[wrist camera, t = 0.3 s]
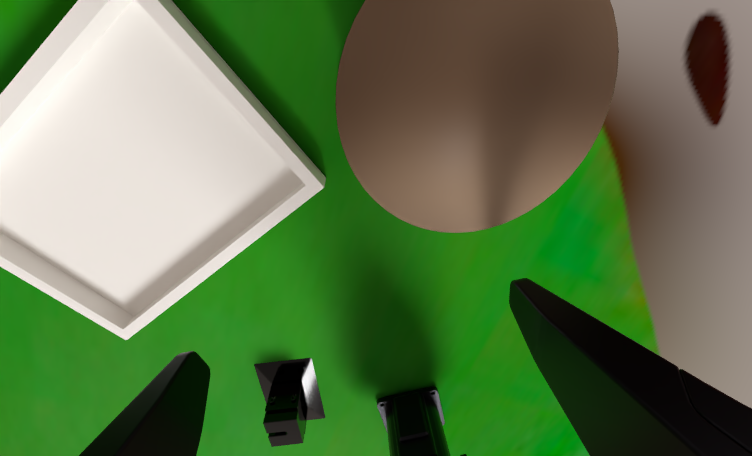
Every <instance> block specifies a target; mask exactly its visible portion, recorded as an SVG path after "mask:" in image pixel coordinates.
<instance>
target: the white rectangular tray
mask: <svg viewBox="0 0 752 456" xmlns="http://www.w3.org/2000/svg"><path fill="white" fill-rule="evenodd" d="M325 181H326V177H325V176H324V175H323V174H322V172H321V171H320V170H319V169H318V168H317V167H316V166H315V164H314V163H313V162H312V161H311V160H310V159H309V158H308V156H307V155H306V154H305V153H304V152H303V151H302V150H301V148H300V147H299V146H298V145H297V144H296V143H295V141H294V140H293V139H292V138H291V137H290V136H289V135H288V133H287V132H286V131H285V130H284V129H283V128H282V127H281V125H280V124H279V123H278V122H277V121H276V120H275V118H274V117H273V116H272V115H271V114H270V113H269V112H268V110H267V109H266V108H265V107H264V106H263V105H262V104H261V102H260V101H259V100H258V99H257V98H256V97H255V96H254V94H253V93H252V92H251V91H250V90H249V89H248V87H247V86H246V85H245V84H244V83H243V82H242V81H241V79H240V78H239V77H238V76H237V75H236V74H235V73H234V71H233V70H232V69H231V68H230V67H229V66H228V64H227V63H226V62H225V61H224V60H223V59H222V58H221V56H220V55H219V54H218V53H217V52H216V51H215V50H214V48H213V47H212V46H211V45H210V44H209V43H208V41H207V40H206V39H205V38H204V37H203V36H202V35H201V33H200V32H199V31H198V30H197V29H196V28H195V27H194V25H193V24H192V23H191V22H190V21H189V20H188V19H187V17H186V16H185V15H184V14H183V13H182V12H181V10H180V9H179V8H178V7H177V6H176V5H175V4H174V2H173V1H172V0H78V1H77V2H76V3H75V5H74V6H73V7H72V8H71V10H70V11H69V12H68V13H67V14H66V16H65V17H64V18H63V19H62V20H61V22H60V23H59V24H58V25H57V26H56V28H55V29H54V30H53V31H52V33H51V34H50V35H49V36H48V37H47V39H46V40H45V41H44V42H43V43H42V45H41V46H40V47H39V48H38V50H37V51H36V52H35V53H34V54H33V56H32V57H31V58H30V59H29V60H28V62H27V63H26V64H25V65H24V67H23V68H22V69H21V70H20V71H19V73H18V74H17V75H16V76H15V77H14V79H13V80H12V81H11V82H10V84H9V85H8V86H7V87H6V88H5V90H4V91H3V92H2V93H1V94H0V267H2V268H4V269H6V270H7V271H9V272H11V273H12V274H14V275H16V276H17V277H19V278H21V279H23V280H24V281H26V282H28V283H29V284H31V285H33V286H35V287H36V288H38V289H40V290H41V291H43V292H45V293H46V294H48V295H50V296H52V297H53V298H55V299H57V300H58V301H60V302H62V303H63V304H65V305H67V306H69V307H70V308H72V309H74V310H75V311H77V312H79V313H80V314H82V315H84V316H86V317H87V318H89V319H91V320H92V321H94V322H96V323H98V324H99V325H101V326H103V327H104V328H106V329H108V330H109V331H111V332H113V333H115V334H116V335H118V336H120V337H121V338H123V339H125V340H127V339H129V338H130V337H131V336H133V335H134V334H135V333H136V332H138V331H139V330H140V329H142V328H143V327H144V326H146V325H147V324H148V323H149V322H151V321H152V320H153V319H155V318H156V317H157V316H158V315H160V314H161V313H162V312H164V311H165V310H166V309H168V308H169V307H170V306H171V305H173V304H174V303H175V302H177V301H178V300H179V299H180V298H182V297H183V296H184V295H186V294H187V293H188V292H190V291H191V290H192V289H193V288H195V287H196V286H197V285H199V284H200V283H201V282H202V281H204V280H205V279H206V278H208V277H209V276H210V275H212V274H213V273H214V272H215V271H217V270H218V269H219V268H221V267H222V266H223V265H224V264H226V263H227V262H228V261H230V260H231V259H232V258H234V257H235V256H236V255H237V254H239V253H240V252H241V251H243V250H244V249H245V248H246V247H248V246H249V245H250V244H252V243H253V242H254V241H256V240H257V239H258V238H259V237H261V236H262V235H263V234H265V233H266V232H267V231H268V230H270V229H271V228H272V227H274V226H275V225H276V224H278V223H279V222H280V221H281V220H283V219H284V218H285V217H287V216H288V215H289V214H290V213H292V212H293V211H294V210H296V209H297V208H298V207H300V206H301V205H302V204H303V203H305V202H306V201H307V200H309V199H310V198H311V197H312V196H314V195H315V194H316V193H318V192H319V191H320V190H322V189H323V188H324V186H325Z"/></svg>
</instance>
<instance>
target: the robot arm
mask: <svg viewBox="0 0 752 456" xmlns="http://www.w3.org/2000/svg"><path fill="white" fill-rule="evenodd" d="M509 304H510V307H511V310H512V312H513V315H514V317H515V319H516V321H517V323H518V326H519V328H520V330H521V332H522V334H523V337H524V339H525V341H526V343H527V345H528V348H529V350H530V352H531V354H532V356H533V358H534V360H535V362H536V364H537V366H538V368H539V370H540V371H541V373H542V375H543V376H544V378H545V380H546V381H547V383H548V385H549V387H550V388H551V390H552V392H553V393H554V395H555V397H556V398H557V400H558V402H559V404H560V405H561V407H562V409H563V410H564V412H565V414H566V415H567V417H568V419H569V421H570V422H571V424H572V426H573V427H574V429H575V431H576V432H577V434H578V436H579V438H580V439H581V441H582V443H583V444H584V446H585V448H586V450H587V451H588V453H589V455H590V456H752V409H751V408H749V407H748V406H746V405H743V404H742V403H740V402H738V401H737V400H735V399H733V398H731V397H729V396H728V395H726V394H724V393H723V392H721V391H719V390H717V389H715V388H714V387H712V386H710V385H708V384H707V383H705V382H703V381H701V380H700V379H698V378H696V377H695V376H693V375H691V374H690V373H688V372H686V371H684V370H683V369H680V370H679V368H678V367H677V366H676V365H674V364H672V363H671V362H669V361H667V360H666V359H664V358H662V357H660V356H659V355H657V354H655V353H654V352H652V351H650V350H649V349H647V348H645V347H643V346H642V345H640V344H638V343H637V342H635V341H633V340H632V339H630V338H628V337H626V336H625V335H623V334H621V333H620V332H618V331H616V330H615V329H613V328H611V327H609V326H608V325H606V324H604V323H603V322H601V321H599V320H598V319H596V318H594V317H592V316H591V315H589V314H587V313H586V312H584V311H582V310H581V309H579V308H577V307H575V306H574V305H572V304H570V303H569V302H567V301H565V300H564V299H562V298H560V297H558V296H557V295H555V294H553V293H552V292H550V291H548V290H547V289H545V288H543V287H541V286H540V285H538V284H536V283H535V282H533V281H531V280H530V279H527V278H522V279H518V280H513V281H512V282H511V284H510V296H509ZM209 381H210V368H209V366H208V365H207V364H206V363H205V362H204V360H203V359H202V358H201V357H200V356H199V355H198V354H197V353H196V352H194V351H190V352H185V353H181V354H179V355H177V356H176V357H175V358H174V359H173V360H172V361H171V362H170V363H169V364H168V365H167V366H166V367H165V368H164V369H163V370H162V371H161V372H160V373H159V374H158V375H157V376H156V377H155V378H154V379H153V380H152V381H151V382H150V383H149V384H148V385H147V386H146V387H145V388H144V389H143V390H142V391H141V392H140V393H139V395H138V396H137V397H136V398H135V399H134V400H133V401H132V402H131V403H130V404H129V405H128V406H127V407H126V408H125V409H124V410H123V411H122V412H121V413H120V414H119V415H118V416H117V417H116V418H115V419H114V420H113V421H112V422H111V423H110V424H109V425H108V426H107V427H106V428H105V429H104V430H103V431H102V432H101V433H100V434H99V435H98V436H97V438H96V439H95V440H94V441H93V442H92V443H91V444H90V445H89V446H88V447H87V448H86V449H85V450H84V451H83V452H82V453H81V454H80V455H79V456H196V454H197V450H198V446H199V442H200V437H201V433H202V427H203V422H204V415H205V408H206V401H207V394H208V388H209ZM377 407H378V409H379V412H380V415H381V417H382V420H383V423H384V425H385V428H386V430H387V433H388V441H389V450H390V456H450V453H449V449H448V445H447V441H446V438H445V434H444V430H443V426H442V425H444V424H445V422H444V417H443V413H442V408H441V404H440V399H439V395H438V391H437V388H436V387H429V388H425V389H420V390H416V391H412V392H407V393H403V394H398V395H394V396H390V397H385V398H381V399H378V400H377ZM460 456H467V455H466V454H463V455H460Z"/></svg>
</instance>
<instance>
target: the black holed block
mask: <svg viewBox="0 0 752 456" xmlns="http://www.w3.org/2000/svg"><path fill="white" fill-rule="evenodd" d="M254 366H255V369H256V372H257V375H258V379H259V382H260V385H261V388H262V391H263V394H264V397H265V401H266V404H267V405H266V409H265V411H266V414H265V418H264V422H263V424H264V427H265V430H266V432H267V433H269V436H268V438H269V441H270V443H271V446H272V447H273V446H281V445H290V444H299V443H303V439H304V434H305V429H306V421H307V420H312V419H322V418H325V414H324V410H323V405H322V401H321V397H320V393H319V388H318V384H317V380H316V376H315V371H314V367H313V363H312V359H311V358H305V359H296V360H287V361H278V362H269V363H260V364H255V365H254Z"/></svg>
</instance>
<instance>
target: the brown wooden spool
mask: <svg viewBox="0 0 752 456" xmlns="http://www.w3.org/2000/svg"><path fill="white" fill-rule="evenodd" d="M618 52H619V51H618V34H617V27H616V22H615V17H614V11H613V8H612V5H611V2H610V0H365V2H364V4H363V5H362V7H361V9H360V10H359V12H358V14H357V16H356V17H355V20H354V22H353V24H352V27H351V29H350V32H349V34H348V36H347V39H346V42H345V45H344V49H343V52H342V56H341V59H340V64H339V70H338V77H337V83H336V114H337V125H338V130H339V134H340V139H341V144H342V146H343V149H344V152H345V155H346V158H347V160H348V162H349V164H350V166H351V168H352V170H353V172H354V174H355V176H356V178H357V179H358V180H359V182H360V183H361V185H362V186H363V188H364V189H365V190H366V191H367V193H368V194H369V195H370V196H371V197H372V198H373V199H374V200H375V201H376V202H377V203H378V204H379V205H381V206H382V207H383V208H384V209H385V210H386V211H388V212H389V213H391V214H393V215H394V216H396V217H397V218H399V219H401V220H403V221H405V222H407V223H410V224H412V225H414V226H417V227H421V228H424V229H427V230H433V231H439V232H452V233H460V232H472V231H478V230H483V229H488V228H491V227H494V226H497V225H501V224H503V223H506V222H508V221H510V220H513V219H515V218H517V217H519V216H521V215H522V214H524V213H526V212H528V211H530V210H531V209H533V208H534V207H536V206H537V205H539V204H540V203H541V202H543V201H544V200H545V199H547V198H548V197H549V196H550V195H551V194H553V193H554V192H555V191H556V190H557V189H558V188H559V187H560V186H561V185H562V184H563V183H564V182H565V181H566V180H567V179H568V178H569V177H570V176H571V175H572V173H573V172H574V171H575V170H576V168H577V167H578V166H579V165H580V164H581V162H582V161H583V159H584V158H585V156H586V155H587V153H588V152H589V150H590V149H591V147H592V145H593V143H594V141H595V140H596V138H597V136H598V134H599V132H600V130H601V128H602V125H603V123H604V120H605V118H606V115H607V113H608V110H609V107H610V103H611V100H612V96H613V93H614V88H615V82H616V77H617V68H618Z"/></svg>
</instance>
